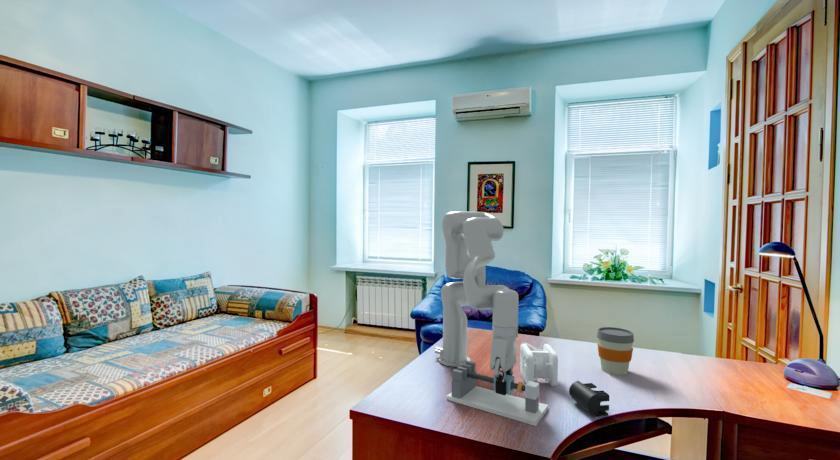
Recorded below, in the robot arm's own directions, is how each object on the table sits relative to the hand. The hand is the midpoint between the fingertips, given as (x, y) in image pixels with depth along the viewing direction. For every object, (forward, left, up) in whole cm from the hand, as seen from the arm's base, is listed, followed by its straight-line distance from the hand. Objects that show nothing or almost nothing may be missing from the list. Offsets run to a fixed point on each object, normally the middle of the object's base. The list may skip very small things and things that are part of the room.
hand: (503, 390), depth 119 cm
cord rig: (-2, 0, -5) cm, 5 cm away
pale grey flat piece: (-11, +53, -6) cm, 54 cm away
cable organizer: (+3, +25, -5) cm, 26 cm away
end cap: (+22, +13, -5) cm, 26 cm away
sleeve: (0, 0, 0) cm, 0 cm away
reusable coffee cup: (+24, +52, -5) cm, 57 cm away
